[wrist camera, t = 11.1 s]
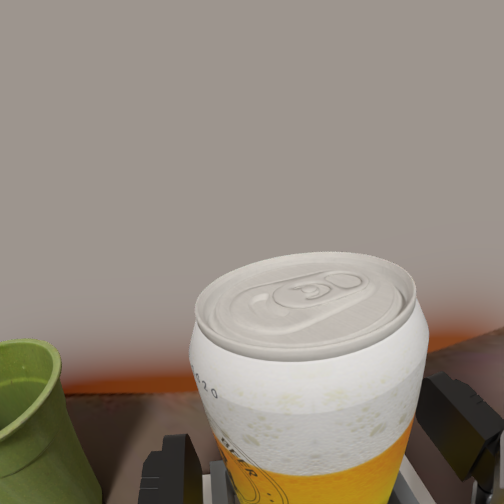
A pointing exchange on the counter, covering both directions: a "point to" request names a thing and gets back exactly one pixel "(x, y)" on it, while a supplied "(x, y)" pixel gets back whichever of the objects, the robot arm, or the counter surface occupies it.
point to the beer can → (311, 375)
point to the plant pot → (39, 431)
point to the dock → (401, 500)
